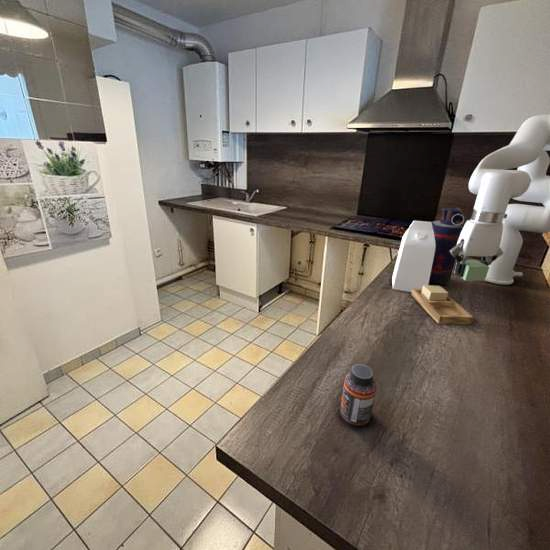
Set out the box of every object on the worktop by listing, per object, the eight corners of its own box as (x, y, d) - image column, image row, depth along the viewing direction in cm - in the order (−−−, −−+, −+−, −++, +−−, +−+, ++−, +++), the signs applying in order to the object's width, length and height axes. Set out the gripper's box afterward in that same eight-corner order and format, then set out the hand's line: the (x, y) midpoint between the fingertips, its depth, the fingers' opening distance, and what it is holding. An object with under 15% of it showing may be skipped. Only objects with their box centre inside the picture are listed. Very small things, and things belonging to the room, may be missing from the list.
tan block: (436, 296, 107) (439, 285, 105) (445, 304, 101) (448, 292, 100) (420, 296, 107) (422, 285, 105) (428, 304, 101) (430, 292, 100)
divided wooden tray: (438, 295, 109) (440, 289, 108) (471, 324, 91) (474, 317, 90) (411, 294, 109) (412, 288, 108) (438, 323, 91) (440, 316, 90)
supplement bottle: (336, 403, 61) (342, 360, 57) (363, 402, 61) (371, 359, 57) (344, 428, 55) (352, 382, 51) (374, 426, 56) (384, 381, 52)
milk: (422, 282, 120) (438, 220, 110) (426, 294, 110) (443, 226, 100) (391, 278, 123) (403, 217, 113) (392, 289, 113) (405, 223, 103)
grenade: (418, 283, 119) (435, 209, 108) (416, 272, 129) (432, 204, 118) (456, 289, 115) (478, 212, 103) (452, 278, 125) (472, 207, 113)
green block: (472, 273, 92) (476, 259, 91) (484, 280, 87) (489, 266, 85) (453, 272, 92) (457, 259, 91) (465, 280, 87) (469, 266, 85)
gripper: (507, 215, 86) (488, 271, 93) (449, 213, 86) (435, 270, 93) (527, 220, 79) (505, 281, 86) (464, 219, 79) (448, 279, 86)
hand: (469, 274), depth 89 cm, fingers closed on green block, 6 cm apart
